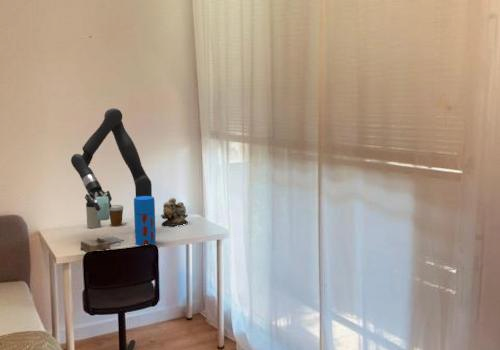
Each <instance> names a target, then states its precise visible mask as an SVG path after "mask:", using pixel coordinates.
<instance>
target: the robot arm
mask: <svg viewBox="0 0 500 350" xmlns="http://www.w3.org/2000/svg"><path fill="white" fill-rule="evenodd" d="M122 120H123V113H122V111H121V110H120V109H118V108H110V109H107V110H106V111H105V112H104V119H103V120H102V122H101V124H100V125H99V127H98V128H97V129H96V130H95V131H94V132H93V134H91V135H90V137H89V138H88V139H87V141H86V142H85V143H84V145H83V146H82V151H83V153H82V154H80V153H75V154H73V155H71V159H70V163H71V165H72V167H73V168H74V170H75V171H76V173H78V175H79V178H80V179H81V181H82V183H83V187H84V188H85V190H86V192H87V194H85V196H84V199H85V201H86V203H87V202H88V203H89V205H93V206H94V207H95V209H96V210H97V211H99V210H100V207H99V205H98V204H97V198H96V197H99V196H108V201H109V208H111V205H112V204H111V201H112V199H113V198H112V196H111V193H110V190H107V191H104V190H103V189H102V186H101V184H100V182H99V180H98V178H97V177H96V175H95V174H94V172H93V169H92V168H91V167H89V166H90V164H91V161H92V159H93V158H94V157H93V156H94V154H95V153H96V152H97V151H98V149H99V148H100V146H101V145H102V144H103V142H104V140H105V139H106V138H107V137H108V135H109V134H110V133H112V135H113V137H114V140H115V143H116V145H117V148H118V151H119V153H120V155H121V158H122V160H123V161H124V164H126V166H127V168H128V169H129V171H130V173H131V176H132V178H133V183H134V186H135V187H134V188H135V197H140V196H152V197H153V195H152V192H153V191H152V189H153V188H152V187H153V186H152V181H151V179H150V177H149V176H148V174H147V173H146V171H145V170H144V167H143V165H142V162H141V158H140V155H139V152H138V150H137V147H136V146H135V143H134V141H133V140H132V137H130V135H129V133H128V132H127V131H126V129H125V126H124V124H123V123H124V122H123V121H122ZM90 197H91V198H93V201H92V199H91V198H90Z"/></svg>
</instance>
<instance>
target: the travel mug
mask: <svg viewBox="0 0 500 350" xmlns="http://www.w3.org/2000/svg"><path fill="white" fill-rule="evenodd" d="M90 198H91V197H90ZM91 199H92V201H93V198H91ZM85 208H86V209H85V210H86V227H87V228H88V229H98V228H100V227H101V225H102V224H101V221H100V220H98V215H97V210H96V209H95V207H94V206H93V205H89V203H88V202H87V201H86V204H85Z"/></svg>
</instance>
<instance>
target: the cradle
mask: <svg viewBox="0 0 500 350" xmlns="http://www.w3.org/2000/svg"><path fill="white" fill-rule="evenodd" d="M103 239H104V238H100V237H97V238H96V240H97V242H96V244H90V243H88V242H86V241H85V242H84V241H80V250H81V251H84V252H86V253H88V252H91V251H97V250H106V249H110V250H111V244H110V242H108V241H106V240H103ZM106 251H107V250H106Z"/></svg>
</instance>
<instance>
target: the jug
mask: <svg viewBox="0 0 500 350" xmlns="http://www.w3.org/2000/svg"><path fill="white" fill-rule="evenodd" d="M96 198H97V204H98V205H99V207H100V210H99V211H97V215H98V220H100V221H108V220H110V215H109V214H110V208H109V201H108V196H106V195H105V196H99V197H96Z"/></svg>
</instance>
